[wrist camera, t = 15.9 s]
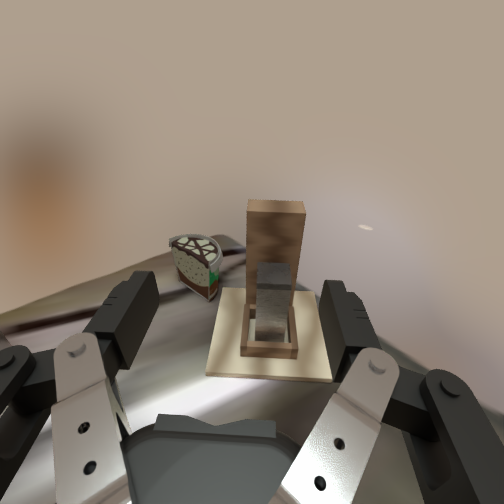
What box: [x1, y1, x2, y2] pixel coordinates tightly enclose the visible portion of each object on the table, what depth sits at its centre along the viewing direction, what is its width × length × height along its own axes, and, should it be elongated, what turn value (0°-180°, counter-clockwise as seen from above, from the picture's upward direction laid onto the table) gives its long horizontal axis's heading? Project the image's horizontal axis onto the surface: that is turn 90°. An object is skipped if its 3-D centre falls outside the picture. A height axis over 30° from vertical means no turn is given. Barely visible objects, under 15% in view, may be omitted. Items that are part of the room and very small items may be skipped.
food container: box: [169, 234, 223, 302], centre depth 52 cm, size 12×6×10 cm, turn 50°
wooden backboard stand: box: [205, 199, 332, 383], centre depth 40 cm, size 18×18×21 cm
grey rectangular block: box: [255, 262, 292, 343], centre depth 40 cm, size 5×5×13 cm
